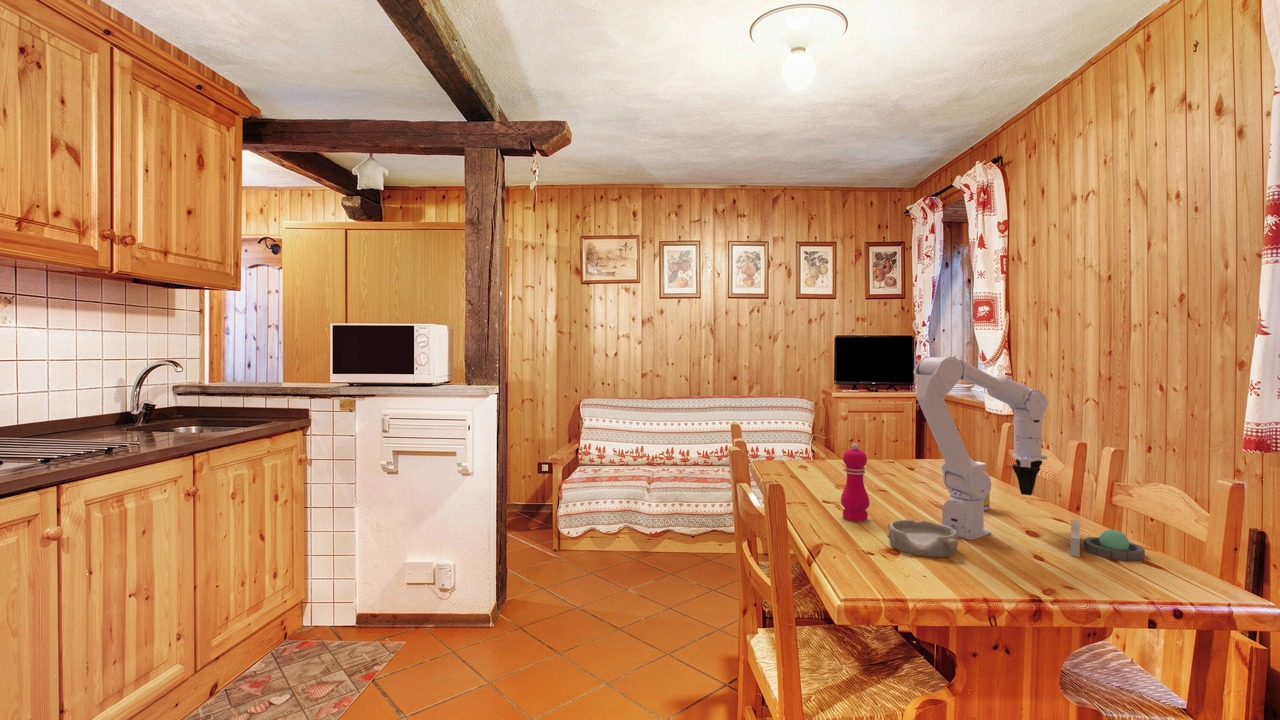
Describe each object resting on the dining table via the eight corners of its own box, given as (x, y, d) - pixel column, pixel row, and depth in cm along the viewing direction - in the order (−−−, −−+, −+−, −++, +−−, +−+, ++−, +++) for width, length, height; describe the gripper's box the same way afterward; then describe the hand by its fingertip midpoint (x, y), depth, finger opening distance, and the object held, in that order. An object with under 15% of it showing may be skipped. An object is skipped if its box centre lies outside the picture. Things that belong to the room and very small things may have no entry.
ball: (1123, 562, 124) (1124, 548, 121) (1095, 551, 127) (1095, 537, 125) (1132, 545, 125) (1133, 531, 123) (1104, 534, 129) (1105, 521, 127)
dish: (966, 561, 122) (966, 538, 122) (896, 557, 125) (896, 534, 125) (944, 539, 137) (944, 518, 136) (882, 536, 139) (882, 515, 139)
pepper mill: (835, 515, 156) (834, 442, 156) (857, 513, 159) (857, 440, 158) (852, 523, 149) (852, 446, 149) (875, 520, 152) (875, 444, 151)
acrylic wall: (1079, 557, 124) (1079, 539, 124) (1070, 556, 125) (1070, 537, 125) (1079, 537, 136) (1079, 521, 136) (1071, 536, 137) (1071, 519, 137)
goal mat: (1133, 564, 120) (1133, 555, 120) (1076, 550, 128) (1076, 542, 128) (1150, 554, 125) (1150, 546, 125) (1095, 542, 133) (1095, 534, 133)
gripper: (1046, 442, 135) (1045, 500, 135) (1048, 434, 146) (1048, 487, 147) (1010, 439, 139) (1010, 495, 139) (1015, 432, 151) (1015, 484, 151)
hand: (1027, 491), depth 143 cm, fingers open, 7 cm apart
